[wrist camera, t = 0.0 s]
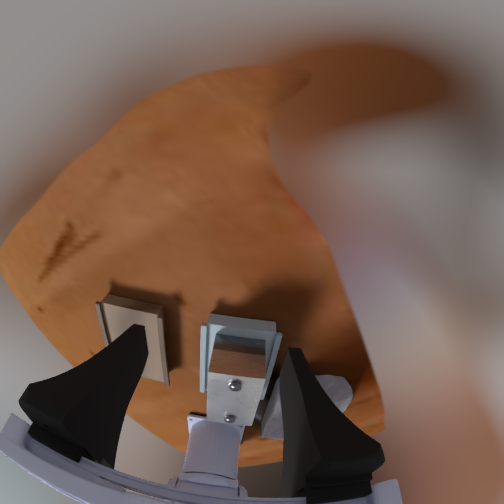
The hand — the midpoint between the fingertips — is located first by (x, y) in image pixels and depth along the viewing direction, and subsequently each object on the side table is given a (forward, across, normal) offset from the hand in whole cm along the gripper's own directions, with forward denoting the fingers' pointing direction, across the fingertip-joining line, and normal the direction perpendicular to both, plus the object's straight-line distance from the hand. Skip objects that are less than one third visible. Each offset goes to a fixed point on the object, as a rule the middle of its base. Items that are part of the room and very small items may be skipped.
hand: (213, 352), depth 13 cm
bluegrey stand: (+10, -2, +10) cm, 15 cm away
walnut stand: (+10, +9, +10) cm, 17 cm away
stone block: (+11, -11, +18) cm, 24 cm away
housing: (+9, -2, +10) cm, 14 cm away
